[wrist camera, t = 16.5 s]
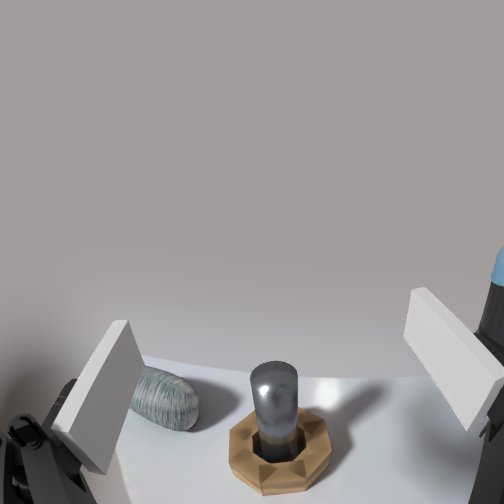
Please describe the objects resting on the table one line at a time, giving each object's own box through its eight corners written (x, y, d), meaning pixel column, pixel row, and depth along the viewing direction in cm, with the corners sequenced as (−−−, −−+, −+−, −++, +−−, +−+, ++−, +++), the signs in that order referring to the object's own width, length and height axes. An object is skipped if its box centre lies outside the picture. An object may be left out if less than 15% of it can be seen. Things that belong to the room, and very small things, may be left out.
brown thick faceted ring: (318, 417, 37) (319, 400, 36) (334, 486, 26) (338, 473, 24) (234, 426, 37) (230, 409, 36) (233, 497, 26) (227, 485, 24)
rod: (295, 442, 33) (294, 358, 28) (299, 467, 29) (300, 389, 24) (262, 445, 33) (249, 363, 28) (264, 471, 29) (250, 395, 24)
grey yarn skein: (102, 402, 37) (111, 351, 37) (142, 390, 46) (155, 344, 46) (164, 457, 32) (181, 407, 31) (202, 434, 40) (220, 387, 40)
